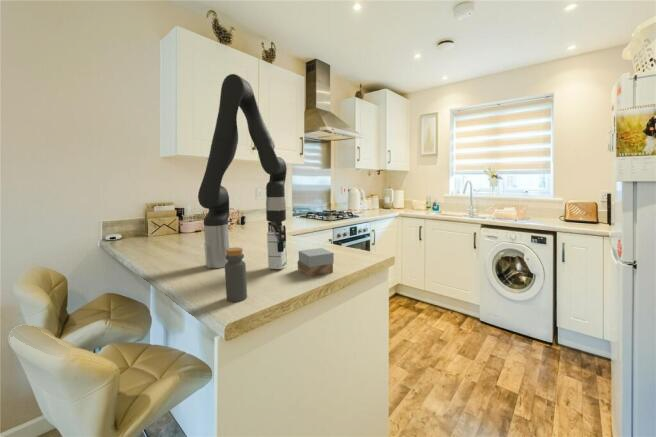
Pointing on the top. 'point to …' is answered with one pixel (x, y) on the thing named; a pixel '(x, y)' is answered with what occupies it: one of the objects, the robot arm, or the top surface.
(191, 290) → the top surface
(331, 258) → the tower top block
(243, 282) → the bottle
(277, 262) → the syrup box
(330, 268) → the tower base block
